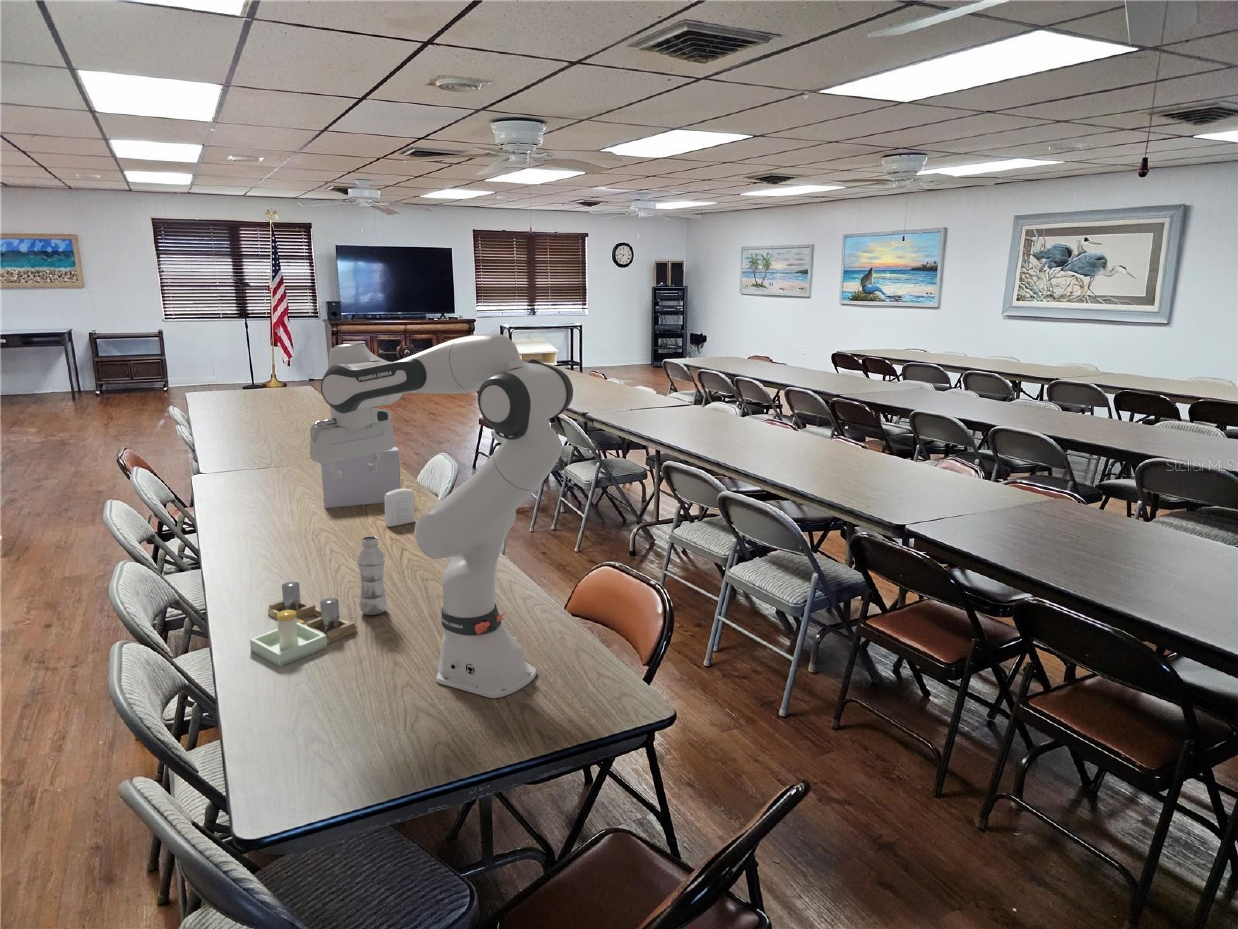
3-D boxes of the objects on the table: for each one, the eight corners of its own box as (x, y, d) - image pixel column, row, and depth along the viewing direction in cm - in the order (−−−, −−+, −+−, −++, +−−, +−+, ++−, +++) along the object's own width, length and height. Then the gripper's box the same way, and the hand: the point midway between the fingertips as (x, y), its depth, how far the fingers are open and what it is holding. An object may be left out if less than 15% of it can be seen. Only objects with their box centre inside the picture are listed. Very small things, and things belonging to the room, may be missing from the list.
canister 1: (304, 613, 191) (302, 584, 189) (290, 619, 188) (287, 589, 186) (295, 609, 193) (293, 580, 191) (281, 614, 190) (278, 585, 188)
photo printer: (410, 519, 266) (409, 485, 263) (416, 522, 263) (415, 488, 260) (383, 525, 259) (381, 490, 256) (389, 528, 256) (387, 493, 253)
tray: (326, 647, 175) (326, 635, 174) (280, 667, 165) (278, 654, 165) (297, 633, 181) (296, 621, 180) (250, 651, 172) (249, 639, 171)
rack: (356, 631, 182) (356, 622, 182) (328, 643, 176) (327, 633, 176) (296, 604, 196) (295, 595, 196) (268, 614, 190) (267, 605, 189)
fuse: (302, 645, 173) (299, 613, 171) (285, 652, 170) (283, 619, 168) (292, 640, 176) (289, 608, 174) (275, 646, 172) (272, 614, 170)
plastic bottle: (359, 609, 195) (354, 535, 190) (386, 605, 197) (382, 533, 192) (360, 619, 189) (355, 544, 184) (388, 616, 191) (384, 541, 186)
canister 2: (343, 631, 182) (341, 600, 180) (329, 637, 179) (326, 606, 177) (333, 626, 185) (331, 596, 183) (319, 632, 181) (316, 602, 179)
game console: (323, 504, 280) (319, 451, 275) (398, 497, 291) (396, 446, 286) (324, 508, 275) (320, 455, 270) (401, 501, 286) (399, 450, 281)
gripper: (318, 424, 160) (323, 487, 163) (397, 411, 176) (399, 469, 179) (301, 420, 163) (305, 482, 166) (379, 408, 179) (382, 465, 183)
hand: (355, 475), depth 173 cm, fingers open, 8 cm apart
